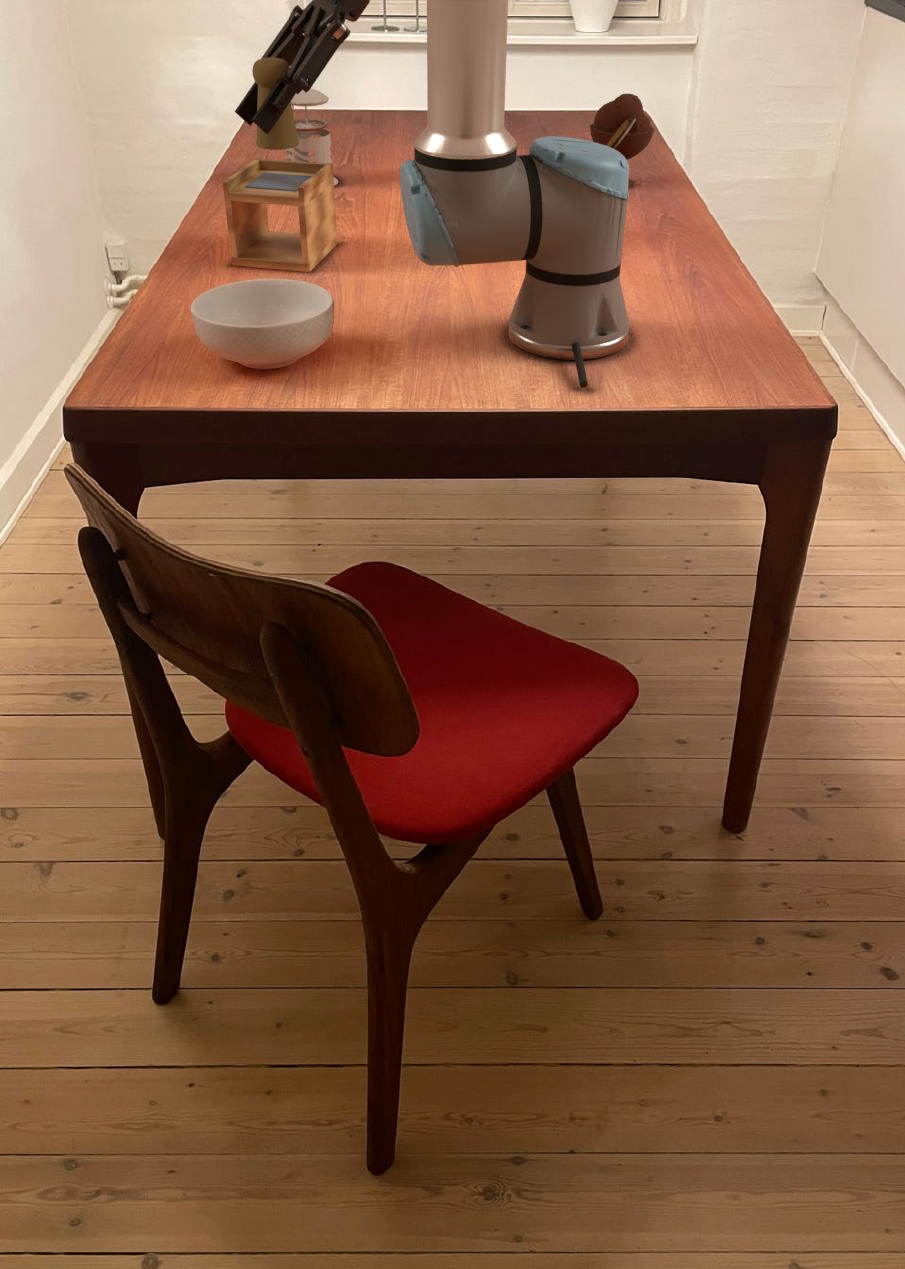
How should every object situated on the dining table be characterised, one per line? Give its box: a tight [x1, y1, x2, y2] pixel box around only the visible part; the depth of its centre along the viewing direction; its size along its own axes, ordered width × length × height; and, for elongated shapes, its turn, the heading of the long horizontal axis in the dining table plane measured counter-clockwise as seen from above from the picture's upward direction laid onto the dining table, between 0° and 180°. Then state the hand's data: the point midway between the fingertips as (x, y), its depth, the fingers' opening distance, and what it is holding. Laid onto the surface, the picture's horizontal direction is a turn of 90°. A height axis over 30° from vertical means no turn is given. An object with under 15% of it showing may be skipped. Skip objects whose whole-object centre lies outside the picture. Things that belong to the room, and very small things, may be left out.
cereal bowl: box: [190, 278, 335, 370], centre depth 135 cm, size 17×17×7 cm
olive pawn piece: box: [251, 57, 299, 151], centre depth 155 cm, size 6×6×11 cm
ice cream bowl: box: [589, 93, 655, 188], centre depth 194 cm, size 11×11×15 cm
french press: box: [285, 88, 339, 186], centre depth 192 cm, size 10×12×25 cm
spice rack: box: [222, 157, 338, 273], centre depth 164 cm, size 13×12×12 cm
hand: (251, 122), depth 155 cm, fingers closed on olive pawn piece, 5 cm apart
